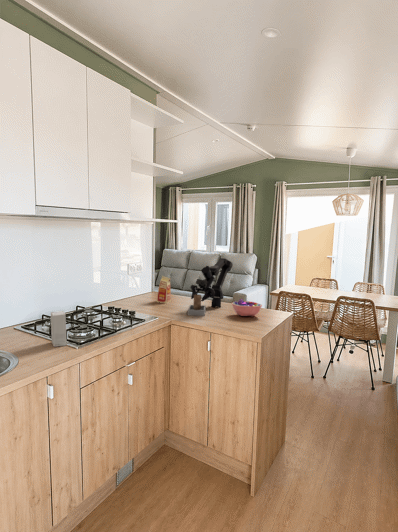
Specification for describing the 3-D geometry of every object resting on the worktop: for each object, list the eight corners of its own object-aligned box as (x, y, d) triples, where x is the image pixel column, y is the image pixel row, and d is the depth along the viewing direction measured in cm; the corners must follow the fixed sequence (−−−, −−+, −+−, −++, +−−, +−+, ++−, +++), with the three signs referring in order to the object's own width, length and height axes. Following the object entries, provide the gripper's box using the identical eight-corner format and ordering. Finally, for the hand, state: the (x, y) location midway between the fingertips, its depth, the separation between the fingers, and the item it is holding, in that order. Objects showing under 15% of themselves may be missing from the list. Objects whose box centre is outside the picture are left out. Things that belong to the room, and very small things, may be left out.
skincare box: (66, 345, 157) (66, 314, 156) (52, 347, 155) (52, 315, 153) (64, 340, 165) (64, 310, 163) (50, 341, 162) (50, 311, 160)
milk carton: (156, 302, 258) (157, 276, 256) (161, 300, 267) (162, 274, 265) (167, 303, 255) (168, 277, 253) (172, 301, 264) (173, 275, 262)
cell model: (261, 320, 215) (262, 303, 214) (229, 317, 219) (230, 300, 218) (261, 314, 232) (262, 297, 231) (232, 311, 236) (233, 295, 235)
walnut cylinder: (200, 310, 232) (201, 294, 231) (200, 312, 227) (201, 296, 226) (193, 310, 232) (194, 294, 231) (192, 311, 227) (193, 295, 226)
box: (205, 310, 237) (205, 305, 236) (204, 315, 222) (204, 310, 221) (189, 309, 237) (189, 304, 237) (187, 315, 222) (187, 309, 222)
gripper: (192, 273, 236) (180, 290, 229) (213, 276, 224) (201, 294, 217) (199, 283, 243) (188, 300, 236) (220, 286, 231) (209, 305, 224)
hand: (196, 300), depth 228 cm, fingers open, 9 cm apart
